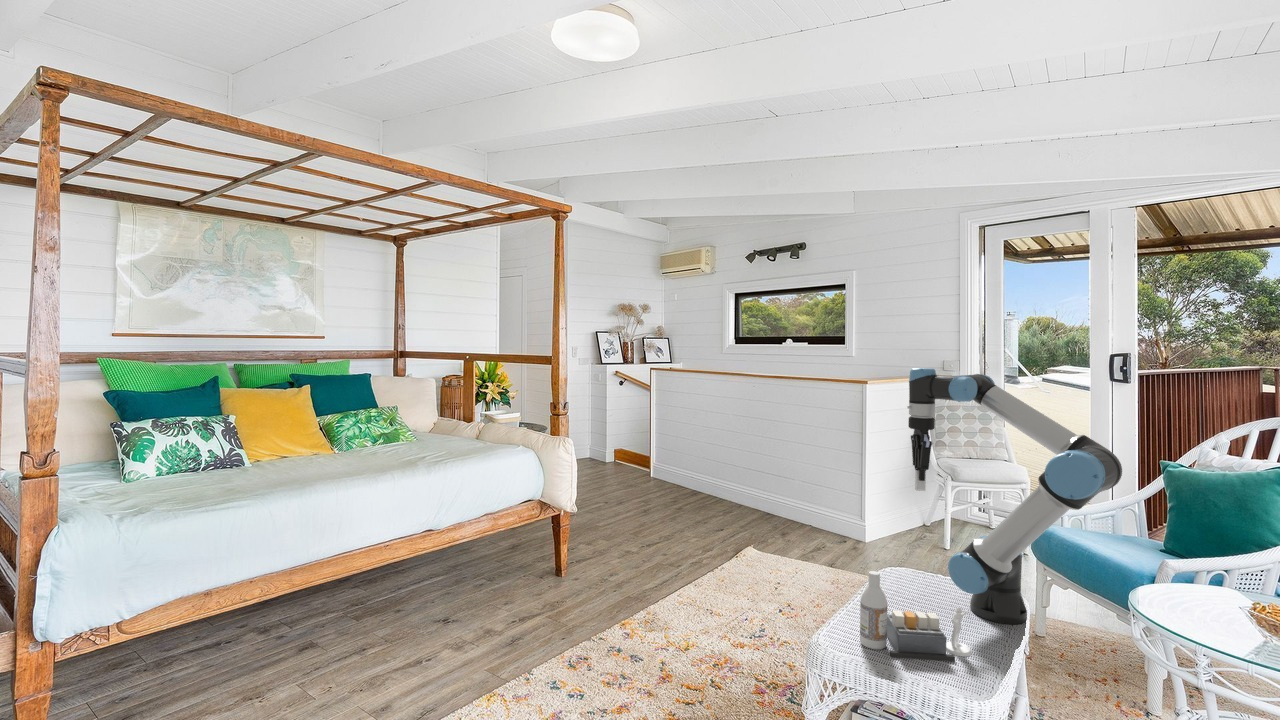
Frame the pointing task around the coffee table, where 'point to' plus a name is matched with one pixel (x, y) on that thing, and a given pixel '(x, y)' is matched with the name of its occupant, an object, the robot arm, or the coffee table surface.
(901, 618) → the cream small block
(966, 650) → the figurine
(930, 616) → the cream rectangular block
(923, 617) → the paddle
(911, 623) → the paddle
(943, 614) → the coffee table surface
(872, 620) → the bath foam
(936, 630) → the breaker panel
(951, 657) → the dark grey slat
